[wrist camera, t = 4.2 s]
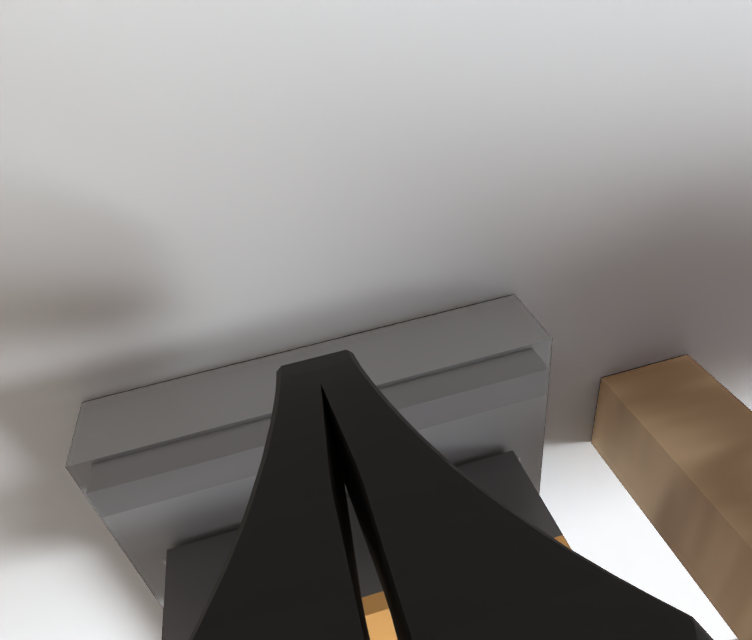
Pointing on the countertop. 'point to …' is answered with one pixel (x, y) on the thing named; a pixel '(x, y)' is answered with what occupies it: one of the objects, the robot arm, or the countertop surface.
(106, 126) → the countertop surface
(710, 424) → the oak post
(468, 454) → the box
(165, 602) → the breaker toggle
